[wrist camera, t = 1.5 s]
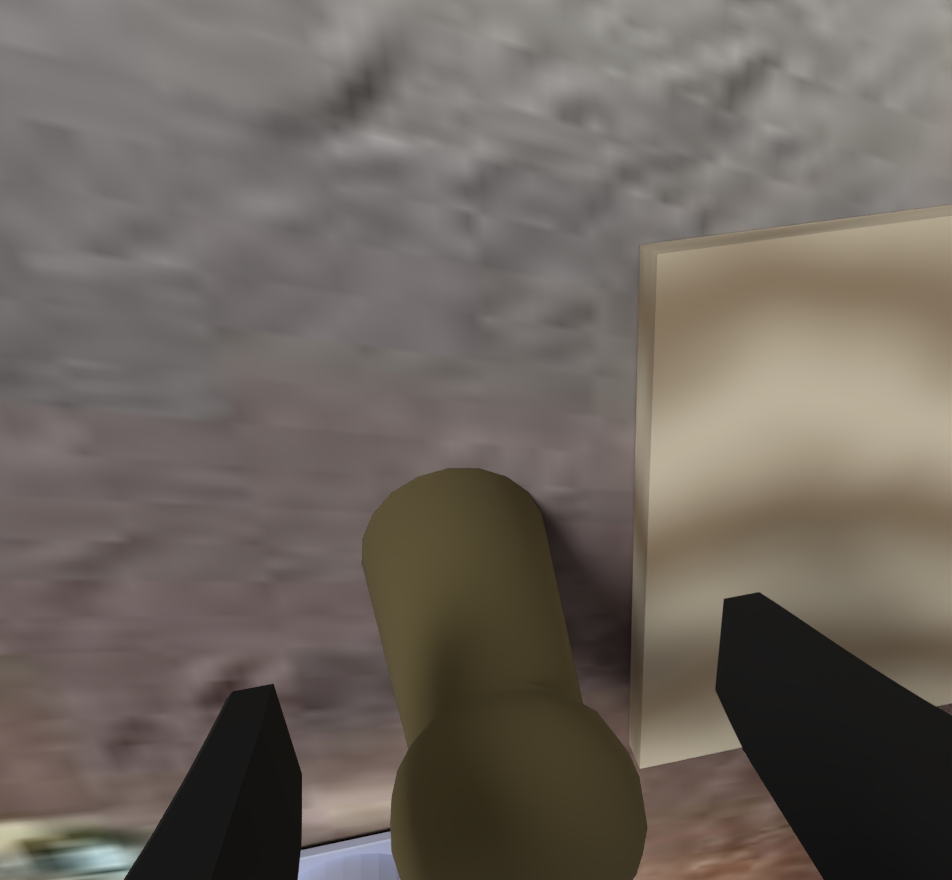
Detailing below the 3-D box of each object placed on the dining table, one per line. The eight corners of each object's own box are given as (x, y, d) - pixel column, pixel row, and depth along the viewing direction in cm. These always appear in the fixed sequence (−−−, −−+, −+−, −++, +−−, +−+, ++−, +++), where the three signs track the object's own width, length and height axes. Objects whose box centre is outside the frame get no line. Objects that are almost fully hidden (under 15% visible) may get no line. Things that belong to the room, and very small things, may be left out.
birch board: (943, 678, 29) (965, 700, 28) (629, 743, 28) (639, 768, 27) (1099, 185, 20) (1140, 191, 19) (640, 245, 19) (657, 254, 18)
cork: (374, 634, 23) (392, 1022, 14) (347, 482, 21) (347, 831, 11) (547, 606, 24) (682, 955, 14) (545, 455, 21) (709, 761, 12)
